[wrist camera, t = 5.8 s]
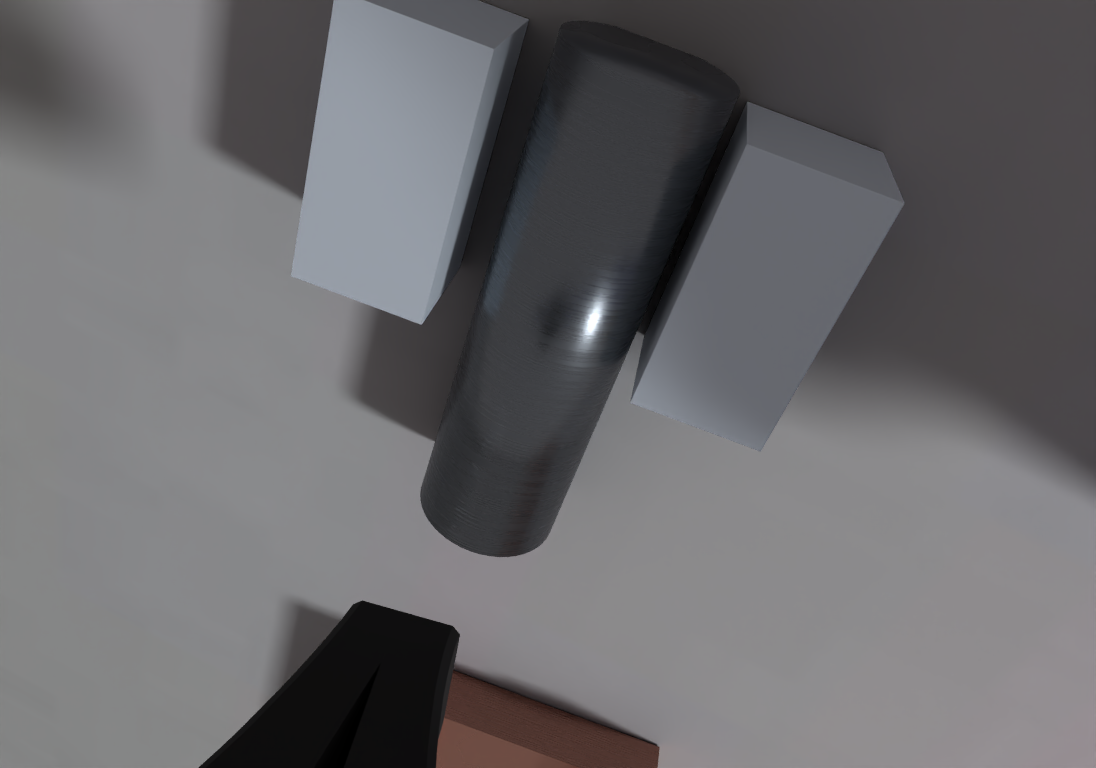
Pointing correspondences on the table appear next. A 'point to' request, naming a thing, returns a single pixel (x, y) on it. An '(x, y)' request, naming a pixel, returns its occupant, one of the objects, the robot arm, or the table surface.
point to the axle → (570, 278)
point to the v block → (527, 734)
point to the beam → (458, 175)
